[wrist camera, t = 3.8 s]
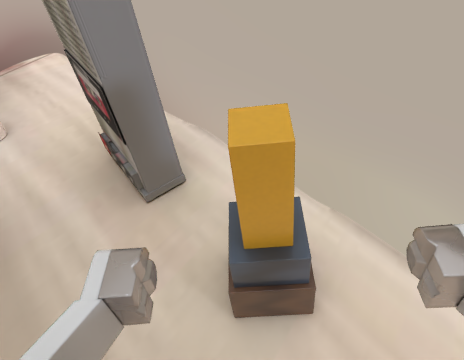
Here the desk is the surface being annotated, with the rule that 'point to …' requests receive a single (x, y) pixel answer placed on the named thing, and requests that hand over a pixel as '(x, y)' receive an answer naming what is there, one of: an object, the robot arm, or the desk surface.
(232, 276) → the tower
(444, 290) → the robot arm
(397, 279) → the desk surface
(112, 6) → the tall grey box
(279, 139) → the bar
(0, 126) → the milkshake
